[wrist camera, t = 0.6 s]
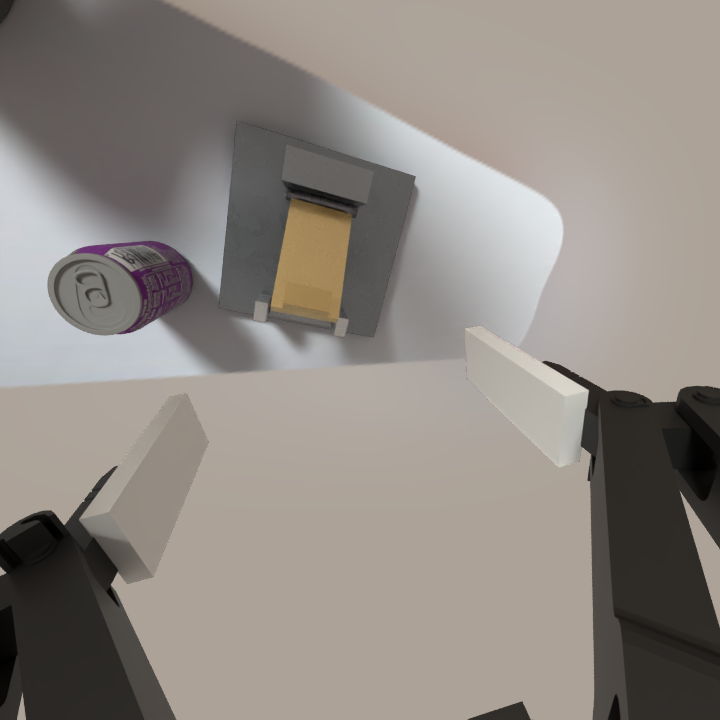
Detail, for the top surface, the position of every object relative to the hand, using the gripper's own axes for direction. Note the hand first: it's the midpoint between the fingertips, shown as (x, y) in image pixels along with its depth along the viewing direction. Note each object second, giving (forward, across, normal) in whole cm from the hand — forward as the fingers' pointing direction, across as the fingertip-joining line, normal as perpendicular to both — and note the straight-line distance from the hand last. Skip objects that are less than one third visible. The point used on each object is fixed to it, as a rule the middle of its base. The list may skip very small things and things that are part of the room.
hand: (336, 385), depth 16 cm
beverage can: (+26, -16, +4) cm, 31 cm away
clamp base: (+26, +1, +5) cm, 26 cm away
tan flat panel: (+20, +1, +4) cm, 20 cm away
